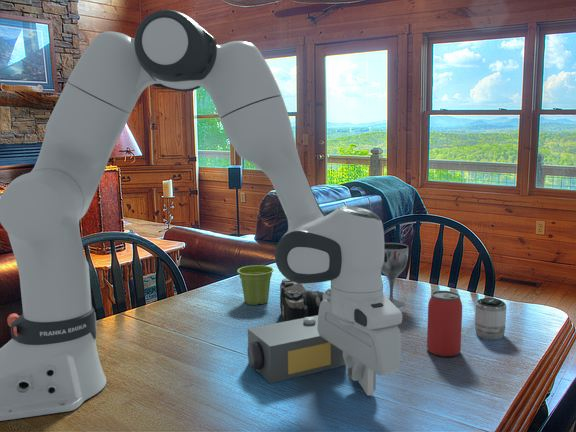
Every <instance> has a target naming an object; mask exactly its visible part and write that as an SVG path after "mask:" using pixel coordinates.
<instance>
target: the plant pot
mask: <svg viewBox="0 0 576 432" xmlns="http://www.w3.org/2000/svg"><path fill="white" fill-rule="evenodd" d="M236 272H237V273H238V275H239V278H240V282H241V287H242V292H243V300H244V303H246V304H247V305H252V306H257V305H259V304H261V305H265V304H266V303H268V302H269V297H270V296H269V295H270V286H271V277H272V275H273V272H274V268H273V267H272V266H267V265H257V264H256V265H246V266H242V267H240V268H237V270H236Z"/></svg>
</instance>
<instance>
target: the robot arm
mask: <svg viewBox="0 0 576 432" xmlns="http://www.w3.org/2000/svg"><path fill="white" fill-rule="evenodd" d="M277 83H278V82H277V80H276V79H275V77H274V74H273V73H272V70H271V68H270V66H269V65H268V63H267V61H266V59H265V57H264V56H263V54H262V53H261V51H260V50H259V48H258V47H257V46H256V45H255V44H253V43H252V42H248V41H245V40H233V41H229V42H226V43H223V44H222V43H221V44H217V40H216V39H215V37H214V36H212V34H210V33H209V32H208V31H207V30H206V29H205V28H203V27H202V26H200V25H199V23H198V22H196V21H195V20H194V19H193V18H191V17H190V16H189V15H186V14H185V13H182V12H180V11H177V10H173V9H162V10H161V9H159V10H156V11H154V12H151V13H149V14H148V15H147V16H145V17H144V18H143V20H141V22H140V23H139V24H138V27H137V29H136V32H135V35H134V37H130V35H127V34H125V33H122V32H117V31H109V30H108V31H103V32H100V33H99V34H97V35H96V36H95V37H94V38H93V39H92V41H91V42H90V43H89V45H88V46H87V47H86V48H85V50H84V52H83V53H82V54H81V56H80V57H79V59H78V61H77V62H76V64H75V66H74V67H73V70H71V73H70V75H69V76H68V79H67V81H66V83H65V85H64V87H63V89H62V91H61V93H60V95H59V97H58V99H57V101H56V103H55V106H54V108H53V110H52V112H51V114H50V116H49V119H48V120H47V123H46V124H45V132H44V137H43V141H42V144H41V147H40V150H39V154H38V157H37V160H36V163H35V164H34V167H33V168H32V170H31V171H30V172H27V173H23V174H21V175H19V176H17V177H16V178H14V179H13V180H12V181H11V182H10V183H8V185H7V187H6V188H5V189H4V191H3V192H2V194H1V196H0V224H1V226H2V227H3V229H4V230H5V231H6V232H7V235H8V239H9V243H10V247H11V250H12V252H13V255H14V259H15V262H16V266H17V271H18V275H19V276H18V277H19V285H20V286H19V287H20V293H21V294H20V295H21V296H20V297H21V304H22V305H21V306H22V314H21V315H18V314H17V313H15V312H14V313H10V314H9V315H8V317H7V320H6V321H7V325H8V326H9V327H10V333H11V339H10V340H9V341H8V342H7V343H5V344H4V345H3V346H2V347H0V422H1V421H2V422H3V421H9V420H17V419H23V418H30V417H31V418H32V417H39V416H44V415H50V414H59V413H65V412H71V411H75V410H76V409H77V408H79V407H80V406H81V405H82V404H83V403H84V402H85V401H87V400H88V399H90V398H92V397H93V396H96V395H97V394H98V393H100V392H101V391H102V390H103V389H104V387H105V386H106V385H107V378H106V374H105V372H104V370H103V366H102V364H101V360H100V357H99V352H98V348H97V343H96V339H97V333H98V331H97V317H96V316H97V315H96V312H95V311H96V310H95V308H94V306H93V305H92V293H91V292H92V291H91V278H90V265H89V262H88V260H87V257H86V255H85V251H84V246H83V242H82V236H81V232H80V231H81V230H80V220H82V219H83V218H84V217H85V215H86V214H87V212H88V211H89V208H90V206H91V204H92V201H93V198H94V197H95V194H96V192H97V190H98V187H99V186H100V182H101V181H102V177H103V176H104V174H105V170H106V168H107V165H108V162H109V160H110V158H111V156H112V153H113V151H114V148H115V147H116V145H117V143H118V141H119V139H120V137H121V134H122V132H123V130H124V128H125V127H126V124H127V123H128V121H129V119H130V116H131V114H132V112H133V111H134V107H135V106H136V104H137V101H138V99H139V98H140V96H141V95H142V93H143V92H144V90H145V89H147V88H148V87H149V86H153V87H156V88H162V89H168V90H172V91H177V92H190V91H195V90H197V89H199V88H201V89H204V91H206V92H207V93H208V94H209V96H210V98H211V100H212V102H213V105H214V106H215V109H216V112H217V115H218V119H219V120H220V123H221V125H222V129H223V131H224V133H225V135H226V137H227V139H228V140H229V143H230V144H231V146H232V147H233V150H234V151H235V153H236V154H237V155H238V157H240V158H241V159H243V160H245V161H247V162H248V163H250V164H252V165H254V166H256V168H259V170H260V171H262V172H263V173H264V174H265V175H266V177H267V178H268V179H269V180H270V182H271V184H272V187H273V189H274V190H275V193H276V195H277V197H278V200H279V203H280V204H281V207H282V210H283V211H284V214H285V216H286V219H287V225H288V226H287V227H288V228H287V231H286V232H285V233H284V234H283V236H281V238H280V239H279V241H278V242H277V244H276V246H275V251H274V260H275V265H276V267H277V269H278V271H279V272H280V274H281V275H282V276H283V277H285V278H287V279H288V280H290V281H292V282H295V283H300V284H302V285H304V284H305V285H306V284H316V283H323V282H329V281H330V288H328V289H326V290H325V291H324V293H323V301H321V303H320V307H319V313H318V324H317V329H318V333H319V336H320V337H322V338H323V339H325V340H327V341H328V342H330V343H331V344H333V345H334V346H336V347H337V348H339V349H340V350H342V351H343V358H344V361H345V364H346V365H345V367H346V376H347V377H348V378H350V379H351V380H352V381H354V382H356V381H358V380H361V379H362V370H363V369H364V366H366V367H368V368H369V369H371V370H372V371H374V372H375V373H376V375H379V376H387V375H391V374H394V373H397V371H398V370H399V369H400V366H401V361H402V334H401V330H400V328H399V325H401V324H402V322H403V313H402V312H401V310H400V308H399V307H396V306H395V305H394V304H393V303H392V302H391V301H390V300H389V299H388V298H389V297H388V296H387V294H386V293H385V292H384V281H383V278H382V267H383V264H384V243H385V232H384V231H385V230H384V224H383V222H382V220H381V218H380V217H379V215H378V214H376V213H375V212H374V211H372V210H369V209H367V208H364V207H360V206H353V205H343V206H338V207H337V208H336V209H335V210H334V211H331V212H330V213H329V214H326V213H325V212H324V211H323V209H322V208H321V207H320V205H319V203H318V201H317V199H316V196H315V194H314V191H313V189H312V186H311V184H310V181H309V179H308V177H307V175H306V171H305V170H304V167H303V165H302V162H301V159H300V156H299V152H298V148H297V144H296V140H295V136H294V132H293V126H292V124H291V120H290V117H289V113H288V109H287V107H286V103H285V101H284V98H283V95H282V92H281V90H280V88H279V86H278V84H277ZM358 382H359V381H358Z"/></svg>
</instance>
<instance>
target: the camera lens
mask: <svg viewBox="0 0 576 432" xmlns="http://www.w3.org/2000/svg"><path fill="white" fill-rule="evenodd" d="M474 313H475V314H474V315H475V316H474V317H475V318H474V328H475V329H474V330H475V335H476V336H477V337H479V338H481V339H486V340H492V341H494V340H501V339H503V338H504V336H505V333H506V331H505V330H506V321H507V304H506V303H505V302H504V301H503V300H501V299H498V298H495V297H484V298H480V299H478V300H477V301H476V302H475V312H474Z"/></svg>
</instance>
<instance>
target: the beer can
mask: <svg viewBox="0 0 576 432" xmlns="http://www.w3.org/2000/svg"><path fill="white" fill-rule="evenodd" d="M430 295H431V296H430V298H429V300H428V304H427V305H428V306H427V332H426V334H427V336H426V350H428V352H430V353H431V354H432V355H435V356H438V357H442V358H444V357H447V358H448V357H449V358H450V357H455V356H457V355H458V354H460V352H461V349H462V348H461V347H462V344H461V343H462V325H463V324H462V322H463V321H462V320H463V303H462V300H461V295H460V294H459V293H458V292H455V291H451V290H436V291H433V292H431V294H430Z"/></svg>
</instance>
